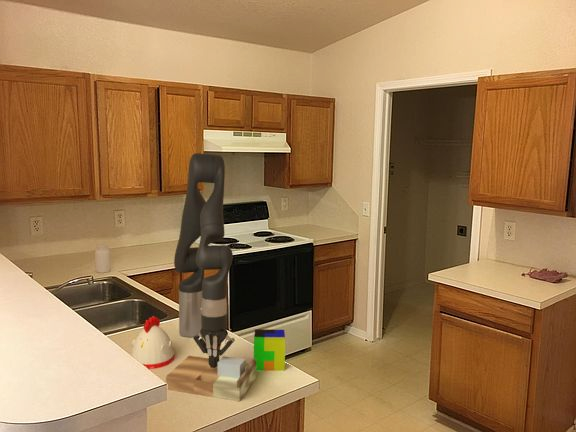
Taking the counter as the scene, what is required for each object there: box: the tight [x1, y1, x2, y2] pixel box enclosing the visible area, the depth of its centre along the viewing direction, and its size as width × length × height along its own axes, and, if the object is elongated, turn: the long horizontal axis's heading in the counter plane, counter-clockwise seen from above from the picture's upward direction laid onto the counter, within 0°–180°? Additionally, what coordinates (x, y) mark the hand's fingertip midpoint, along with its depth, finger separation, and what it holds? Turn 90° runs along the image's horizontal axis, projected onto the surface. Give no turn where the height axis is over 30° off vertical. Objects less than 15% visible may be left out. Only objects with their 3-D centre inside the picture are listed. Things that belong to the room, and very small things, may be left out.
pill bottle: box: [94, 243, 112, 274], centre depth 268 cm, size 8×8×15 cm
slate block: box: [218, 355, 246, 378], centre depth 144 cm, size 4×7×4 cm, turn 75°
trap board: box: [165, 355, 257, 402], centre depth 146 cm, size 15×23×6 cm, turn 75°
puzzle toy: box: [253, 328, 286, 372], centre depth 160 cm, size 10×10×10 cm
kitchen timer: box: [130, 315, 175, 370], centre depth 160 cm, size 14×14×15 cm
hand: (213, 366), depth 145 cm, fingers closed
